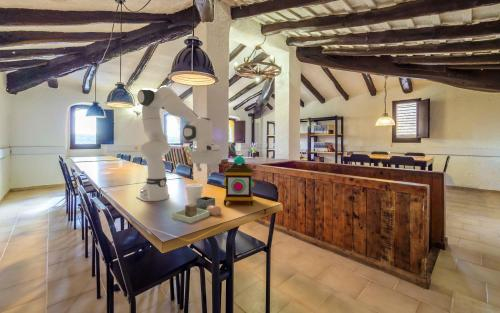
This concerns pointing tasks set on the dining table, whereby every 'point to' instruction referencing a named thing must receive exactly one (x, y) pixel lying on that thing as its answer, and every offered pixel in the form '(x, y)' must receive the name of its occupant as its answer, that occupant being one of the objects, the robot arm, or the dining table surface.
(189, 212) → the walnut block
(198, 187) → the foam cup
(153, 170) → the robot arm
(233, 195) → the decorative lantern
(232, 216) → the dining table surface
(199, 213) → the pale green tray
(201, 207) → the dark grey square bin
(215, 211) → the potato
